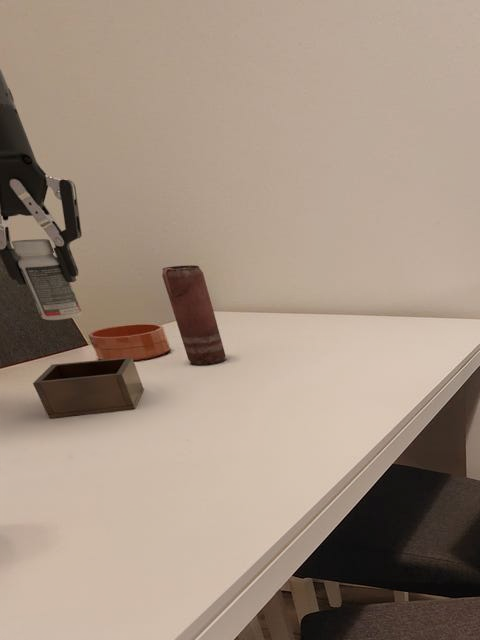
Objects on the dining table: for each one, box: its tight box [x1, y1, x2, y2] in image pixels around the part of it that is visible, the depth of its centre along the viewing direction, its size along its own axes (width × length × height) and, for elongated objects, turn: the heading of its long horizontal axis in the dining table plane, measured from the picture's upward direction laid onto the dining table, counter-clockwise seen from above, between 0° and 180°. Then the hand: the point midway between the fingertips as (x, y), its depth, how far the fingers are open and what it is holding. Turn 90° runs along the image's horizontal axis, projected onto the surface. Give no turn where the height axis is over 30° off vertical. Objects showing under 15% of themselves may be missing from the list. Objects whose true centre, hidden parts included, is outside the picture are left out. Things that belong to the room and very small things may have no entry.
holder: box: [32, 357, 144, 419], centre depth 82 cm, size 11×11×4 cm
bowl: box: [88, 323, 171, 362], centre depth 106 cm, size 12×12×4 cm
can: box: [161, 264, 226, 366], centre depth 98 cm, size 6×6×14 cm
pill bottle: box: [11, 238, 83, 321], centre depth 74 cm, size 5×5×8 cm
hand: (48, 282), depth 74 cm, fingers closed on pill bottle, 4 cm apart
